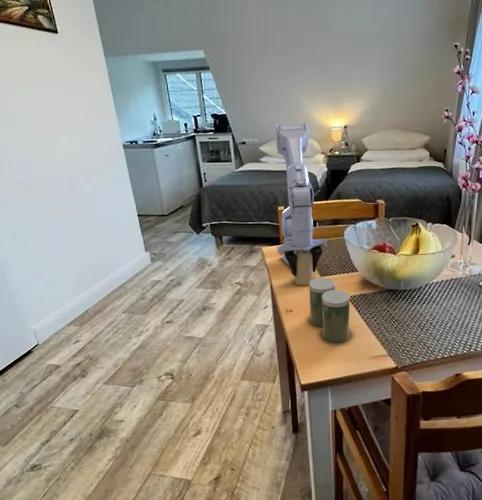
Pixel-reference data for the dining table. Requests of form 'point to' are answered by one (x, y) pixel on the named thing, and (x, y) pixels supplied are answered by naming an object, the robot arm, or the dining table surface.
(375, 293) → the dining table surface
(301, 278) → the candle
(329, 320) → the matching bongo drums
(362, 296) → the dining table surface
